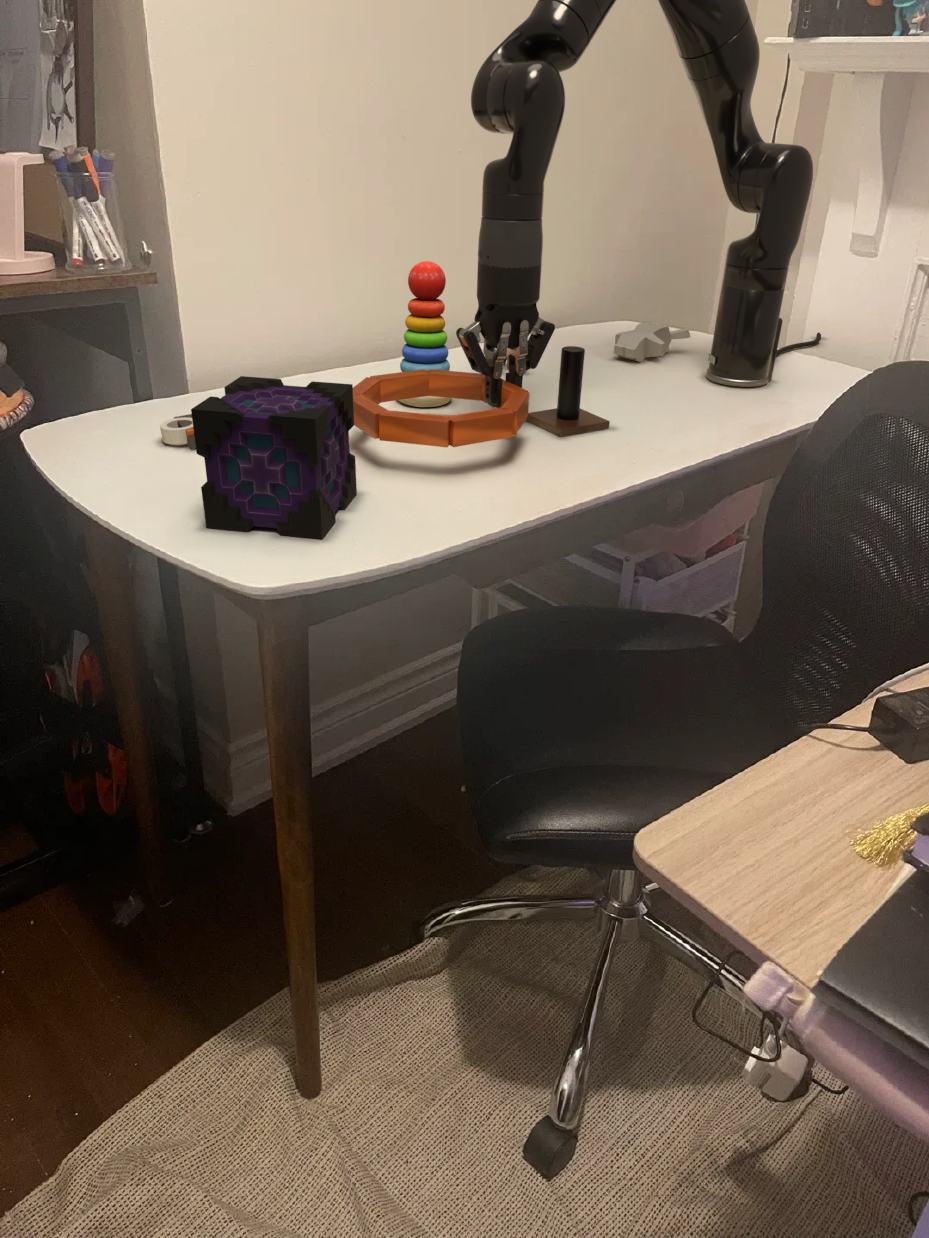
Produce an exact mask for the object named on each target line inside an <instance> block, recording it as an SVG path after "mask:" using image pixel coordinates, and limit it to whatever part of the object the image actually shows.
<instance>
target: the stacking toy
mask: <svg viewBox="0 0 929 1238" xmlns="http://www.w3.org/2000/svg"><path fill="white" fill-rule="evenodd" d="M446 278H447V277H446V275H445V271H444V270H443V268H442V267H441V266H440V265H439V264H437V263H435V262H434V261H429V260H425V261H420V262H418V263H416V264H415V265H413V267H411V269H410V271H409V273H408V277H407V283H408V288H409V291H410V292H411V294H412V295H413V296H414V298H412V299H410V300H409V301H408V303H407V310H408V313H410V314H409V315H407V316H406V318H405V320H404V321H405V322H404V325H405V327H406V328H407V330H405V332H404V334H403V339H404V342H405V344H404V345H403V347H402V349H401V354H402V357H403V358H402V359H401V361H400V364H399V368H400V372H407V371H415V370H422V369H425V370H427V371H428V370H429V369H435V370H446V371H451V370H450V369H451V365H450V364H451V363H450V362H449V360H448V357H449V349H448V347H447V345H446V343H447V341H448V334H447V332H446V331H445V330H444V329H445V327H446V320H445V318H444V317H443V316H442V315H443V314H444V312H445V309H446V306H445V303H444V301H443V300H442V299H439V297H440V296H441V295H442V294H443V293H444V290H445V288H446V283H447V281H446ZM451 400H452V398H447V397H436V396H424V397H417V398H410V399H403V400H398V401H399V402H400V403H401V404H404V405H405V406H406V405H407V406H410V407H417V408H435V407H440V406H444V405H447V404H448V403H449V402H451Z"/></svg>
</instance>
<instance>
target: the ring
mask: <svg viewBox="0 0 929 1238" xmlns="http://www.w3.org/2000/svg"><path fill="white" fill-rule="evenodd" d="M424 396H436V397H447V398H451V399H459V400H469V401H479V402H483V403H485V404H487V405H488V402H487V401H486V400H485V375H483V374H481V373H478V372H466V371H455V370H449V371H446V370H435V369H429V370H428V371H427V370H425V369H422V370H415V371H407V372H402V371H400V372H391V373H384V374H375V375H370V376H369V377H368V376H366V377H365V378H364V379H362V380H361V381H360V382H358V383H357V384H356V385H354V386H353V410H354V426H355V427H356V428H358V430H360V431H362V432H363V433H366V435H368V436H370V437H371V438H373V439H374V440H378V439H379V441H380V442H381V441H382V442H390V443H391V442H392V443H400V444H410V445H419V446H427V447H428V446H430V447H439V448H449V447H452V448H457V447H464V446H468V445H469V446H470V445H475V444H480V443H487V442H492V441H497V440H504V439H509V438H513V436H517V434H518V433H519V431H520V430H521V427H522V426H523V425H524V423H525V422H526V421H527V420H526V418H527V417H528V413H529V405H530V391H529V390H528V389H525V388H523V387H522V388H521V387H519V386H516V385H514V384H512V383H509V382H507V381H505V379H503V381H502V395H501V407H498V408H493V409H487V410H486V409H485V410H479V411H474V412H473V411H472V412H466V413H460V414H454V415H440V414H431V413H430V414H429V413H421V412H410V411H399V410H390V409H387V408H385V407H384V406H381V403H389V402H395V401H399V400H403V399H410V398H417V397H424ZM354 426H353V427H354Z"/></svg>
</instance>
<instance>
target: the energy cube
mask: <svg viewBox="0 0 929 1238" xmlns="http://www.w3.org/2000/svg"><path fill="white" fill-rule="evenodd" d="M353 387H354V386H353V383H341V382H328V381H327V382H324V381H315V380H314V381H313V380H311V381H310V382H309V383H308V384H307V385H306V386H299V385H287V384H285V385H284V383H283V381H282V378H272V377H258V376H244V375H243V376H242V375H241V376H239V377H238V378H236V379H234V380H233V381H232V382H230V383H228V384H227V385H225V386H224V395H223V396H221V397H218V396H209V397H207V398H206V399H204V400H202V401H201V402H199V403H198V404H197V405H195V406H194V407H192V408H191V409H190V414H192V421H193V429H194V437H195V444H196V449H195V450H196V451H195V452H196V455H198V456H200V457H202V458H203V460H204V466H205V475H206V481H205V482H204V483H203V484H202V486H201V487H200V490H201V499H202V505H203V514H204V520H205V528H206V529H213V530H222V531H234V532H242V533H243V532H244V533H249V531H250V530H252V529H253V528H254V527H259V528H267V529H268V528H269V529H276V530H277V532H278V534H279V536H283V537H292V538H293V537H294V538H303V539H304V538H305V539H312V540H313V539H315V540H324V539H325V537H326V535H327V534H329V532H330V531H331V529H332V528H333V526H334V525H335V524H336V523H337V519H336V514H335V513H336V511H338V509H339V510H346V509H347V508H348V506H349V505H350V504H351V503H352V501H353V500H354V498H355V497H356V496H357V493H358V492H357V491H358V489H357V467H356V466H357V465H356V455H354V454H353V453H351V452H350V435H349V434H350V433H349V432H350V431H351V429H352V428H353V427H354V410H353Z"/></svg>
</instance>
